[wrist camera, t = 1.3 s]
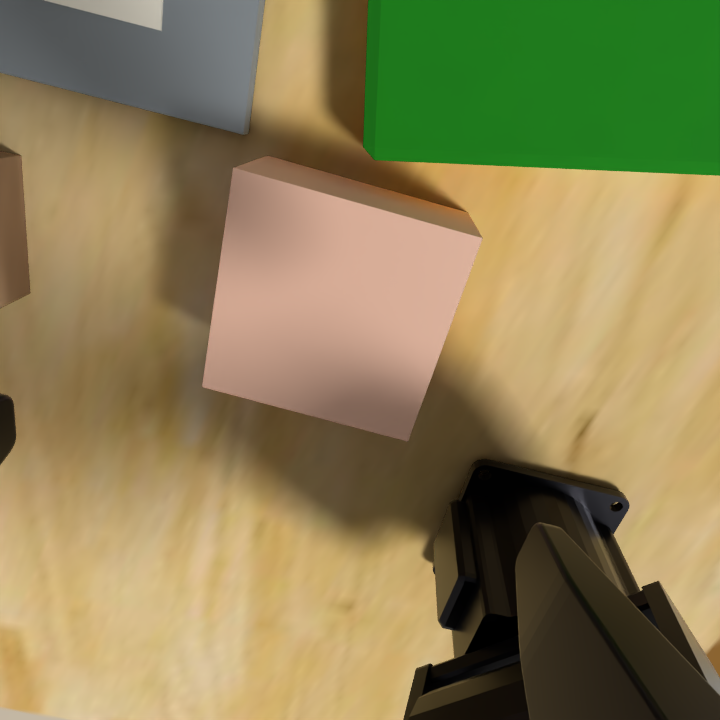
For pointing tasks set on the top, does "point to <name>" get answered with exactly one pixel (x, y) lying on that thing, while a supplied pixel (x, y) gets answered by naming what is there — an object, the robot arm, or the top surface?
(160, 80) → the slate mat
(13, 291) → the walnut cube
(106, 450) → the top surface
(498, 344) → the top surface
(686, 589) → the top surface
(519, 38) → the dish sponge
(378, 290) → the pink square block
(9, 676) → the top surface
